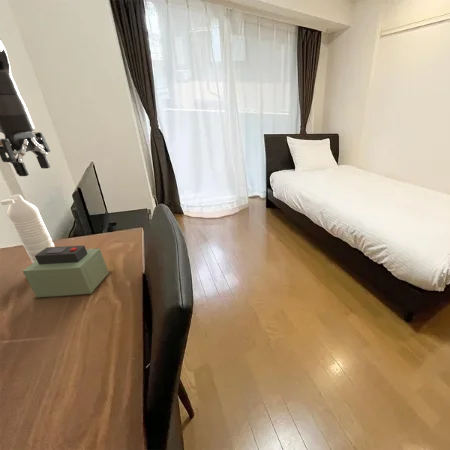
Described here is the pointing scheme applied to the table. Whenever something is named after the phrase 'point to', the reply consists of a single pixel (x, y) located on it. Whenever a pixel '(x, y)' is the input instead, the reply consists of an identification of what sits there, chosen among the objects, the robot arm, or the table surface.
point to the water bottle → (28, 225)
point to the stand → (67, 276)
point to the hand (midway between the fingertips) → (35, 171)
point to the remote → (61, 254)
